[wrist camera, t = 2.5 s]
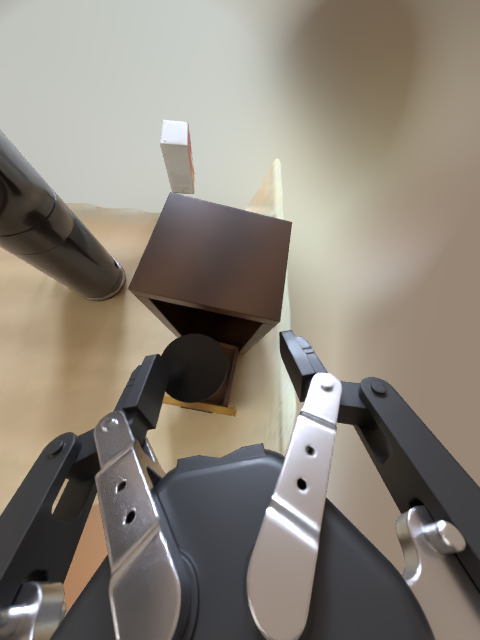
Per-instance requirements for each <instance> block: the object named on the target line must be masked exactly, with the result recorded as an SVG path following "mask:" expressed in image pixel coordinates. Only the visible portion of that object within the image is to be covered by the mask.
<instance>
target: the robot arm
mask: <svg viewBox="0 0 480 640" xmlns="http://www.w3.org/2000/svg"><path fill="white" fill-rule="evenodd" d="M0 247H1V248H3V249H5V250H7V251H8V252H10V253H12V254H13V255H15V256H17V257H18V258H20V259H22V260H23V261H25V262H26V263H28V264H30V265H31V266H33V267H35V268H36V269H38V270H40V271H41V272H43V273H45V274H46V275H48V276H50V277H51V278H53V279H55V280H56V281H58V282H60V283H61V284H63V285H65V286H66V287H68V288H69V289H71V290H73V291H75V292H76V293H77V294H79V295H80V296H82V297H84V298H85V299H88V300H92V301H101V300H106V299H109V298H111V297H113V296H114V295H116V294H117V293H118V292H119V291H120V290H121V289H122V287H123V286H124V283H125V279H126V276H125V272H124V270H123V268H122V267H121V266H120V265H119V264H118V263H117V261H116V259H115V258H114V257H113V256H111V255H112V254H111V255H110V254H109V253H108V252H107V251H106V249H105V248H104V247H103V246H102V245H101V244H100V243H99V241H98V240H97V239H96V238H95V237H94V236H93V235H92V234H91V232H90V231H89V230H88V229H87V228H86V227H85V226H84V224H83V223H82V222H81V221H80V220H79V219H78V218H77V217H76V215H75V214H74V213H73V212H72V211H71V210H70V209H69V208H68V206H67V205H66V204H65V203H64V202H63V201H62V200H61V198H60V197H59V196H58V195H57V194H56V193H55V192H54V191H53V189H52V188H51V187H50V186H49V185H48V184H47V183H46V182H45V180H44V179H43V178H42V177H41V176H40V175H39V174H38V173H37V172H36V170H35V169H34V168H33V167H32V166H31V164H30V163H29V162H28V161H27V160H26V159H25V157H24V156H23V155H22V154H21V153H20V152H19V150H18V149H17V148H16V147H15V146H14V145H13V143H11V141H10V140H9V139H8V138H7V137H6V136H5V134H4V133H3V132H2V131H1V130H0ZM112 257H113V258H114V259H113V258H112ZM280 353H281V357H282V360H283V362H284V364H285V367H286V369H287V372H288V374H289V376H290V379H291V381H292V384H293V386H294V388H295V391H296V393H297V396H298V398H299V400H300V402H304V401H305V403H304V406H303V409H302V411H301V412H300V414H299V416H298V419H297V423H296V425H295V428H294V431H293V435H292V438H291V441H290V444H289V447H288V450H287V453H286V456H285V457H284V456H283V455H281V454H279V453H277V452H275V451H271V450H266V449H264V446H263V443H261V444H256V445H251V446H246V447H241V448H240V449H238V450H236V451H234V452H232V453H230V454H228V455H226V456H224V457H222V458H215V457H208V456H200V455H198V456H193V457H187V458H182V459H178V462H177V467H176V468H174V469H172V470H171V471H170V472H168V473H167V474H166V473H165V472H164V470H163V469H162V468H161V466H160V464H159V462H158V460H157V458H156V456H155V453H154V451H153V449H152V447H151V445H150V443H149V440H148V438H147V437H146V433H147V430H150V429H155V428H156V424H157V421H158V417H159V413H160V409H161V406H162V402H163V398H164V394H165V391H166V387H167V383H168V379H169V371H168V369H167V367H166V365H165V363H164V361H163V360H162V358H161V356H160V355H159V354H155V355H150V356H146V357H145V358H144V361H143V363H142V365H139V366H138V367H137V368H136V369H135V370H134V371H133V372H132V374H131V377H130V379H129V381H128V383H127V385H126V387H125V389H124V391H123V393H122V395H121V397H120V399H119V401H118V403H117V405H116V407H115V409H114V411H113V412H111V413H109V414H107V415H106V416H105V417H103V418H102V419H101V420H100V421H99V423H98V424H97V426H96V427H95V428H94V429H92V430H90V431H88V432H86V433H84V434H82V435H79V436H76V435H75V434H74V433H71V432H68V433H64V434H62V435H60V436H58V437H57V438H55V439H54V440H53V441H51V442H50V443H49V444H48V445H47V446H46V447H45V449H44V450H43V451H42V453H41V454H40V456H39V457H38V459H37V460H36V462H35V463H34V465H33V467H32V468H31V470H30V471H29V473H28V474H27V476H26V477H25V479H24V481H23V482H22V484H21V485H20V487H19V488H18V490H17V491H16V493H15V494H14V496H13V498H12V499H11V501H10V502H9V504H8V505H7V507H6V508H5V510H4V512H3V513H2V515H1V516H0V640H480V488H479V486H478V485H477V484H476V483H475V482H474V481H473V479H472V478H471V477H470V476H469V475H468V474H467V473H466V471H465V470H464V469H463V468H462V467H461V466H460V465H459V463H458V462H457V461H456V460H455V459H454V458H453V456H452V455H451V454H450V453H449V452H448V450H447V449H446V448H445V447H444V446H443V445H442V444H441V442H440V441H439V440H438V439H437V438H436V437H435V435H434V434H433V433H432V432H431V431H430V430H429V429H428V428H427V426H426V425H425V424H424V423H423V422H422V421H421V419H420V418H419V417H418V416H417V415H416V414H415V412H414V411H413V410H412V409H411V408H410V406H409V405H408V404H407V403H406V402H405V401H404V400H403V398H402V397H401V396H400V395H399V394H398V393H397V391H396V390H395V389H394V388H393V387H392V386H391V385H390V384H389V383H387V382H386V381H384V380H382V379H379V378H374V377H368V378H365V379H363V380H362V381H361V383H351V382H343V381H340V380H338V379H337V378H336V377H335V376H333V375H331V374H329V373H328V372H327V370H326V369H325V367H324V366H323V364H322V363H321V361H320V360H319V358H318V357H317V355H316V354H315V352H314V350H313V349H312V348H311V346H310V344H309V343H308V341H307V340H305V339H304V338H303V337H301V336H300V337H295V335H294V333H293V332H292V330H289V331H284V332H280ZM337 422H338V423H344V424H350V425H353V426H354V427H355V430H356V431H357V433H358V435H359V437H360V439H361V441H362V442H363V444H364V446H365V448H366V450H367V452H368V453H369V455H370V457H371V459H372V461H373V463H374V464H375V466H376V468H377V470H378V472H379V474H380V475H381V477H382V479H383V481H384V483H385V485H386V487H387V488H388V490H389V492H390V494H391V496H392V497H393V499H394V501H395V503H396V505H397V507H398V508H399V510H400V512H401V515H400V516H399V517H398V519H397V520H396V533H397V537H398V539H399V542H400V544H401V547H402V550H403V554H404V560H405V567H404V572H403V574H402V575H401V574H400V573H399V572H398V570H397V569H396V568H395V567H394V566H393V565H392V563H391V562H390V561H389V560H387V558H386V557H385V556H384V555H383V554H382V553H381V552H380V551H379V550H378V549H377V548H376V547H375V546H374V545H373V544H372V543H371V542H370V541H369V540H368V539H367V538H366V537H365V536H364V535H363V534H362V533H361V532H360V531H359V530H358V529H357V528H356V527H355V526H354V525H353V524H352V523H351V522H350V521H349V520H348V519H347V518H346V517H345V516H344V515H343V514H342V513H341V512H340V511H339V510H338V509H337V508H336V507H335V506H334V505H333V504H332V503H331V502H330V501H329V500H328V499H327V498H326V493H327V486H328V480H329V474H330V468H331V461H332V454H333V448H334V443H335V436H336V428H337V427H336V423H337ZM66 478H67V479H69V481H68V483H67V485H66V487H65V489H64V491H63V494H62V496H61V498H60V500H59V502H58V504H57V506H56V508H55V510H54V512H53V514H52V513H51V510H52V506H53V503H54V501H55V499H56V497H57V495H58V493H59V491H60V489H61V487H62V485H63V483H64V481H65V479H66ZM96 493H97V494H98V500H99V505H100V511H101V517H102V522H103V528H104V534H105V540H106V545H107V551H108V555H107V556H106V558H105V559H104V561H103V562H102V563H101V565H100V566H99V568H98V569H97V571H96V572H95V574H94V575H93V577H92V578H91V580H90V581H89V582H88V584H87V585H86V587H85V588H84V590H83V591H82V592H81V594H80V595H79V597H78V598H77V600H76V601H75V603H74V604H73V605H72V607H71V608H70V610H69V611H68V613H67V614H66V616H65V617H64V615H65V612H66V603H65V602H64V595H65V592H64V587H63V583H64V581H65V578H66V575H67V572H68V570H69V567H70V564H71V562H72V559H73V556H74V553H75V551H76V548H77V545H78V543H79V540H80V537H81V534H82V532H83V529H84V526H85V523H86V521H87V518H88V515H89V512H90V510H91V507H92V504H93V502H94V499H95V496H96ZM63 618H64V619H63Z"/></svg>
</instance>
